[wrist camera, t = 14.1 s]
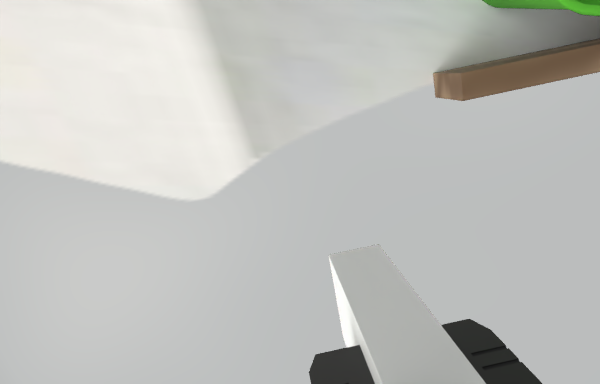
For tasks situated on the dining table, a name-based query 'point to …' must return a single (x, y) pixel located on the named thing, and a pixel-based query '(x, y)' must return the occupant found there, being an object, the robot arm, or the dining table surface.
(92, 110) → the dining table surface
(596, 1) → the cup
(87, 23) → the dining table surface
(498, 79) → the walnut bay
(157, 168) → the dining table surface
